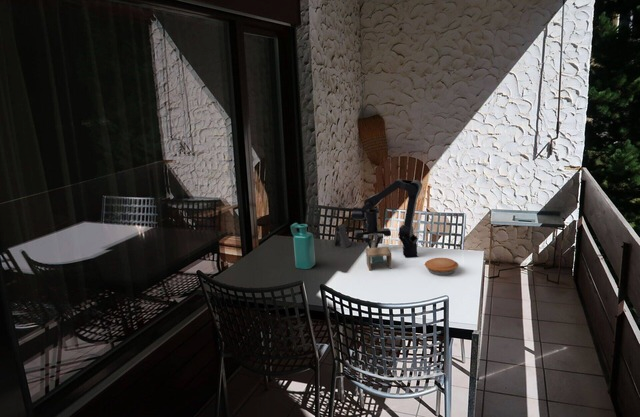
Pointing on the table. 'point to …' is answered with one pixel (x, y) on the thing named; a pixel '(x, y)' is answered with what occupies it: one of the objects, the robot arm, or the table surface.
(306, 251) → the teal bottle
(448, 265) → the pie
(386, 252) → the walnut shelf
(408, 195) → the robot arm
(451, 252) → the table surface
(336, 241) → the phone stand
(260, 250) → the table surface
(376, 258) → the tethered block
